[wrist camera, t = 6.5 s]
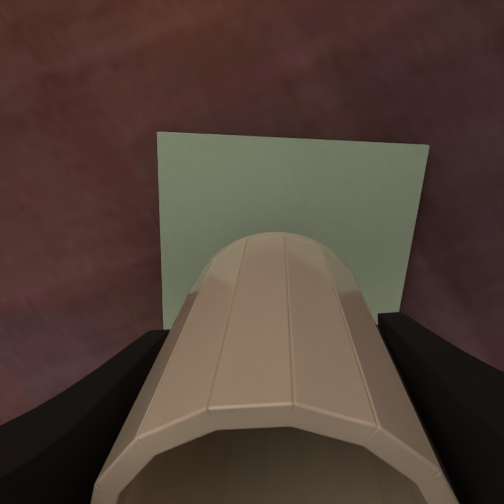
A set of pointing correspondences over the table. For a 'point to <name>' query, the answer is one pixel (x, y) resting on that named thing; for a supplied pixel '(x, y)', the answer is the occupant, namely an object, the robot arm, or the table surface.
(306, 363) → the cup
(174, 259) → the mat
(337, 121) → the table surface
